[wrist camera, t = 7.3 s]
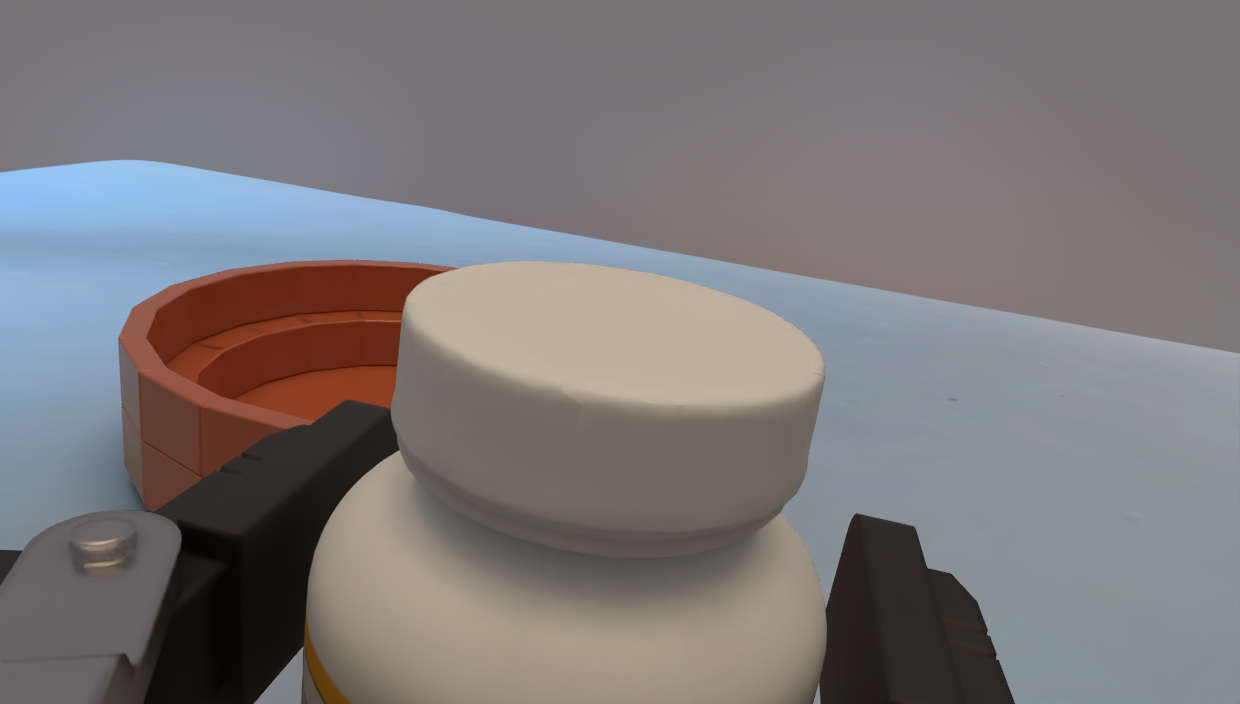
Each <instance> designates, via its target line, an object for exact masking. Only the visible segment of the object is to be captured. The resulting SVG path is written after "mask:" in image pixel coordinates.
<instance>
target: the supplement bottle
mask: <svg viewBox="0 0 1240 704" xmlns="http://www.w3.org/2000/svg"><path fill="white" fill-rule="evenodd" d="M824 381H825V363H824V359H823V357H822V355H821V352H820V350H819V349H818V348H817V346H816V345H815V343H814V342H812V341H811V340H810V339H809V338H808V337H807V336H806V335H805V334H804V333H803V332H801V331H800V330H799V329H798V328H796V327H795V326H794V325H792V324H791V323H789V322H788V321H786V320H784V319H782V318H781V317H779V316H777V315H776V314H774V313H772V312H770V311H768V310H766V309H764V308H762V307H760V306H757V305H755V304H753V303H751V302H748V301H746V300H743V299H740V298H738V297H735V296H732V295H729V294H726V293H723V292H720V291H717V290H714V289H710V288H707V287H703V286H700V285H696V284H693V283H689V282H686V281H682V280H677V279H673V278H669V277H665V276H661V275H657V274H651V273H645V272H639V271H632V270H626V269H620V268H614V267H604V266H597V265H589V264H577V263H561V262H537V261H523V262H500V263H492V264H480V265H475V266H470V267H464V268H460V269H456V270H451V271H448V272H444V273H441V274H438V275H435V276H432V277H430V278H428V279H426V280H424V281H423V282H421V283H420V284H418V285H417V286H416V287H415V288H414V289H413V290H412V291H411V293H410V294H409V295H408V296H407V298H406V302H405V305H404V309H403V313H402V323H401V333H400V344H399V354H398V365H397V375H396V386H395V391H394V395H393V399H392V402H391V420H392V423H393V426H394V430H395V432H396V434H397V442H398V446H399V449H400V450H399V451H397V452H396V453H394V454H392V455H391V456H389V457H388V458H386V459H385V460H383V461H382V462H380V463H379V464H378V465H376V466H375V467H374V468H373V469H371V470H370V471H369V472H368V473H367V474H365V475H364V476H363V477H362V478H361V479H360V480H359V481H358V482H357V483H356V484H355V485H354V486H353V487H352V488H351V489H350V490H349V491H348V492H347V494H346V495H345V496H344V498H343V499H342V500H341V502H340V503H339V504H338V506H337V507H336V509H335V510H334V512H333V513H332V515H331V517H330V518H329V520H328V522H327V524H326V525H325V527H324V530H323V532H322V534H321V537H320V539H319V542H318V544H317V547H316V549H315V552H314V557H313V561H312V565H311V570H310V574H309V579H308V589H307V604H306V619H305V635H304V649H303V678H302V698H301V704H813V701H814V698H815V694H816V691H817V687H818V684H819V681H820V677H821V672H822V668H823V662H824V657H825V652H826V641H827V622H826V609H825V602H824V597H823V592H822V587H821V584H820V580H819V577H818V575H817V572H816V569H815V567H814V564H813V562H812V560H811V557H810V555H809V553H808V551H807V550H806V548H805V546H804V544H803V543H802V541H801V539H800V537H799V536H798V534H797V533H796V531H795V530H794V529H793V527H792V526H791V525H790V523H789V522H788V520H787V519H786V518H785V517H784V516H783V515H782V513H781V511H782V509H783V507H784V505H785V504H786V503H787V502H788V501H789V500H790V499H791V498H792V497H793V496H794V495H795V494H796V493H797V491H798V490H799V488H800V486H801V484H802V482H803V480H804V478H805V474H806V471H807V464H808V454H809V449H810V444H811V440H812V436H813V432H814V428H815V424H816V419H817V414H818V409H819V405H820V400H821V395H822V390H823V386H824Z"/></svg>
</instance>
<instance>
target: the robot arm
mask: <svg viewBox="0 0 1240 704" xmlns="http://www.w3.org/2000/svg"><path fill="white" fill-rule="evenodd" d="M399 450H400V449H399V446H398V442H397V434H396V432H395V430H394V426H393V423H392V420H391V408H386V407H382V406H377V405H373V404H368V403H364V402H359V401H355V400H350V399H348V400H345V401H343V402H342V403H340V404H339V405H337V406H336V407H334V408H333V409H332V410H330V411H329V412H327V413H326V414H325V415H323V416H322V417H320V418H319V419H318V420H316V421H315V422H313V423H312V424H311V425H305V424H301V425H298V426H295V427H292V428H289V429H286V430H283V431H280V432H277V433H274V434H271V435H267V436H266V437H264V438H263V439H261V440H260V441H258V442H257V443H256V444H254V445H253V446H251V447H250V448H248V449H247V450H245V451H244V452H242V455H241V457H239V456H236V457H235V458H233V459H232V460H230V461H229V462H227V463H226V464H224V465H223V466H221V469H220V471H216V470H215V471H214V472H212V473H211V474H209V475H208V476H206V477H205V478H203V479H202V480H200V481H199V482H198V483H196V484H195V485H193V486H192V487H190V488H189V489H187V490H186V491H184V492H183V493H181V494H180V495H178V496H177V497H175V498H174V499H172V500H171V501H169V502H168V503H166V504H165V505H163V506H162V507H160V508H159V509H157V510H156V511H154V512H153V513H150V512H146V511H137V510H110V511H102V512H95V513H90V514H85V515H81V516H78V517H74V518H71V519H68V520H65V521H63V522H60V523H58V524H56V525H54V526H52V527H50V528H48V529H46V530H44V531H43V532H41V533H40V534H38V535H37V536H36V537H35V538H33V539H32V540H31V541H30V542H29V543H28V545H27V546H26V547H25V548H24V550H23V551H15V550H0V704H254V702H255V701H256V700H257V699H258V698H259V697H260V695H261V694H262V693H263V692H264V691H265V690H266V689H267V687H268V686H269V685H270V684H271V683H272V682H273V680H274V679H275V678H276V677H277V676H278V675H279V673H280V672H281V671H282V670H283V669H284V668H285V667H286V665H287V664H288V663H289V662H290V661H291V660H292V658H293V657H294V656H295V655H296V654H297V653H298V651H299V650H300V649H301V648H302V647H303V646H304V635H305V619H306V604H307V589H308V579H309V574H310V570H311V565H312V561H313V557H314V552H315V549H316V547H317V544H318V542H319V539H320V537H321V534H322V532H323V530H324V527H325V525H326V524H327V522H328V520H329V518H330V517H331V515H332V513H333V512H334V510H335V509H336V507H337V506H338V504H339V503H340V502H341V500H342V499H343V498H344V496H345V495H346V494H347V492H348V491H349V490H350V489H351V488H352V487H353V486H354V485H355V484H356V483H357V482H358V481H359V480H360V479H361V478H362V477H363V476H364V475H365V474H367V473H368V472H369V471H370V470H371V469H373V468H374V467H375V466H376V465H378V464H379V463H380V462H382V461H383V460H385V459H386V458H388V457H389V456H391V455H392V454H394V453H396V452H397V451H399ZM826 622H827V641H826V652H825V657H824V662H823V668H822V672H821V677H820V681H819V683H820V701H821V704H1015V703H1014V700H1013V697H1012V695H1011V692H1010V689H1009V686H1008V684H1007V681H1006V678H1005V676H1004V673H1003V670H1002V668H1001V665H1000V662H999V660H996V651H995V649H994V646H993V643H992V641H991V638H990V636H988V635H987V631H988V630H987V627H986V624H985V622H984V619H983V616H982V613H981V611H980V608H979V605H978V603H977V601H976V600H975V599H974V598H973V597H972V596H971V595H970V593H969V592H968V591H967V590H966V589H965V588H964V587H963V586H962V585H961V584H960V583H959V582H958V581H957V579H956V578H955V577H954V576H953V575H952V574H950V573H946V572H942V571H937V570H933V569H928V568H927V566H926V563H925V559H924V556H923V552H922V549H921V545H920V542H919V539H918V535H917V532H916V529H915V527H914V526H910V525H906V524H901V523H897V522H892V521H888V520H883V519H879V518H875V517H870V516H866V515H861V514H857V513H856V514H855V515H854V516H853V518H852V520H851V522H850V525H849V528H848V531H847V535H846V538H845V542H844V546H843V549H842V553H841V557H840V560H839V564H838V568H837V571H836V575H835V578H834V582H833V586H832V589H831V593H830V597H829V600H828V604H827V607H826Z"/></svg>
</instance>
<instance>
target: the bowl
mask: <svg viewBox="0 0 1240 704" xmlns="http://www.w3.org/2000/svg"><path fill="white" fill-rule="evenodd" d="M456 269H460V268H453V267H446V266H438V265H430V264H423V263H420V264H419V263H409V262H389V261H370V260H328V261H296V262H283V263H276V264H268V265H260V266H253V267H245V268H237V269H230V270H225V271H221V272H218V273H214V274H210V275H207V276H203V277H200V278H196V279H192V280H189V281H185V282H182V283H178V284H174V285H171V286H169V287H167V288H166V289H164V290H162V291H160V292H159V293H157V294H155V295H154V296H152V297H150V298H148V299H147V300H145V301H143V302H141V303H140V304H138V305H136V306H135V307H133V308H132V310H131V312H130V314H129V317H128V319H127V321H126V323H125V325H124V327H123V329H122V331H121V333H120V335H119V338H118V345H119V364H120V383H121V401H122V423H123V442H124V462H125V466H126V468H127V470H128V472H129V474H130V476H131V478H132V481H133V483H134V485H135V487H136V489H137V491H138V493H139V495H140V498H141V500H142V502H143V504H144V506H146V508H148V509H149V510H150V511H152V512H154V511H156V510H157V509H159V508H160V507H162V506H163V505H165V504H166V503H168V502H169V501H171V500H172V499H174V498H175V497H177V496H178V495H180V494H181V493H183V492H184V491H186V490H187V489H189V488H190V487H192V486H193V485H195V484H196V483H198V482H199V481H200V480H202V479H203V478H205V477H206V476H208V475H209V474H211V473H212V472H214V471H215V470H216V471H220V469H221V466H223V465H224V464H226V463H227V462H229V461H230V460H232V459H233V458H235V457H236V456H239V457H241V455H242V452H244V451H245V450H247V449H248V448H250V447H251V446H253V445H254V444H256V443H257V442H258V441H260V440H261V439H263V438H264V437H266V436H267V435H271V434H274V433H277V432H280V431H283V430H286V429H289V428H292V427H295V426H298V425H301V424H305V425H311V424H312V423H313V422H315V421H316V420H318V419H319V418H320V417H322V416H323V415H325V414H326V413H327V412H329V411H330V410H332V409H333V408H334V407H336V406H337V405H339V404H340V403H342V402H343V401H345V400H348V399H350V400H355V401H359V402H364V403H368V404H373V405H377V406H382V407H386V408H391V402H392V399H393V395H394V391H395V386H396V375H397V365H398V354H399V344H400V333H401V323H402V313H403V309H404V305H405V302H406V298H407V296H408V295H409V294H410V293H411V291H412V290H413V289H414V288H415V287H416V286H417V285H418V284H420V283H421V282H423V281H424V280H426V279H428V278H430V277H432V276H435V275H438V274H441V273H444V272H448V271H451V270H456Z"/></svg>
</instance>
